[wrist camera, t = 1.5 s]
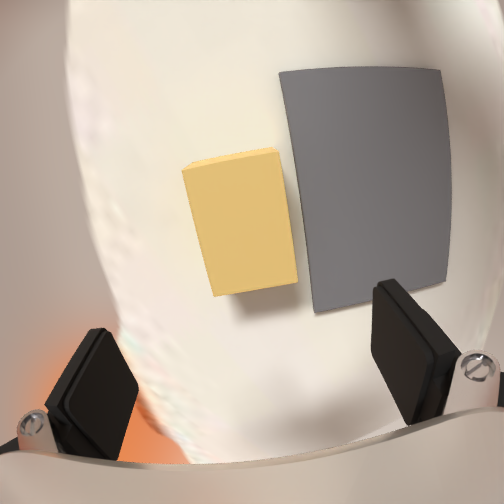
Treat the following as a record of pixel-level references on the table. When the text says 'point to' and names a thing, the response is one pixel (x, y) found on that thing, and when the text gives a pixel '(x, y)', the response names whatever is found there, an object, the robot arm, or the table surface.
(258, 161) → the box
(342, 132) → the mat
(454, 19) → the table surface
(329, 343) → the table surface
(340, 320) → the table surface
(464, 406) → the robot arm
